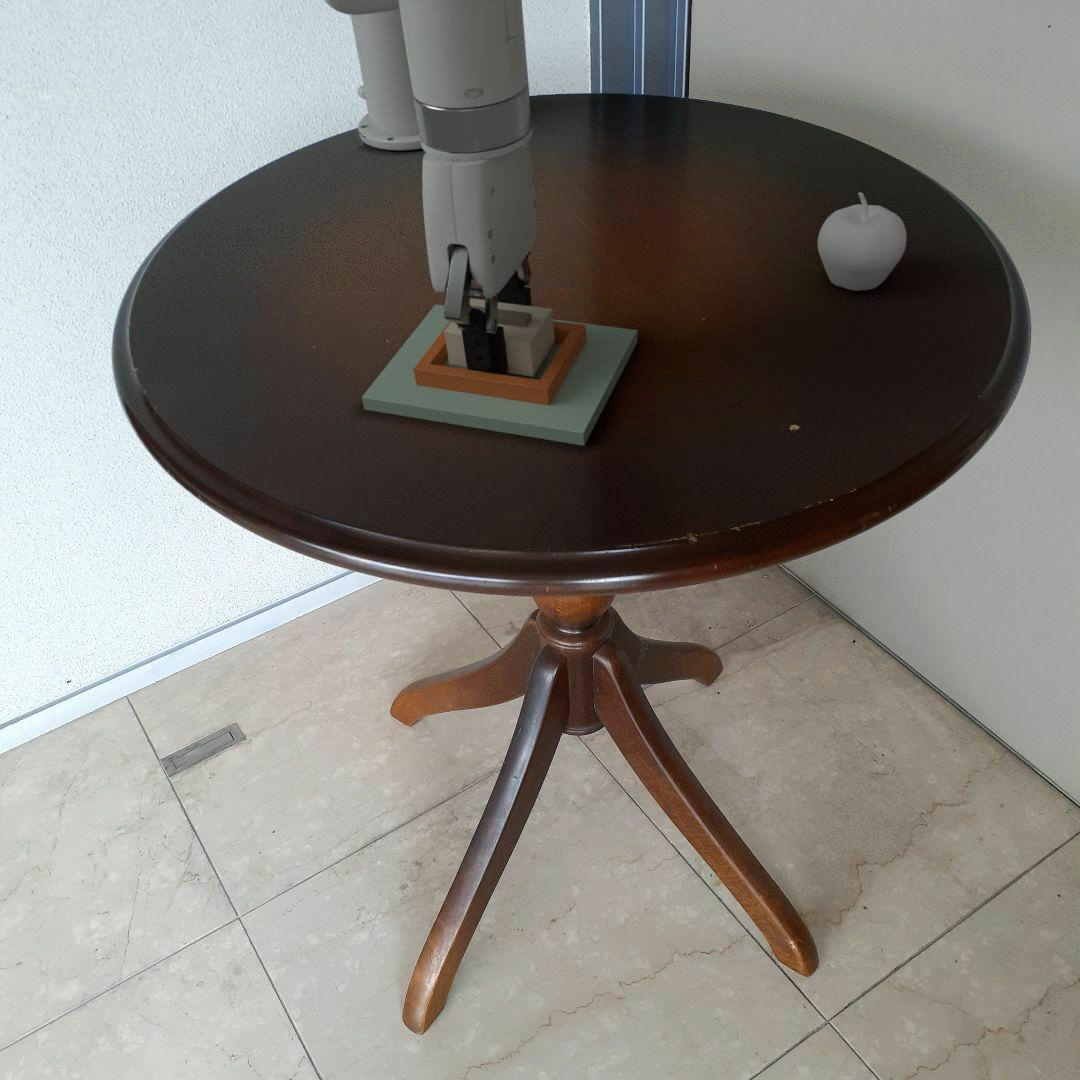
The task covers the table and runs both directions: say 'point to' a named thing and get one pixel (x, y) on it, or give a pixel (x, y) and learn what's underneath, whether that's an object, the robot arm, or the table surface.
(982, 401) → the table surface
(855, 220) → the plain white apple
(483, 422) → the board
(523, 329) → the block
